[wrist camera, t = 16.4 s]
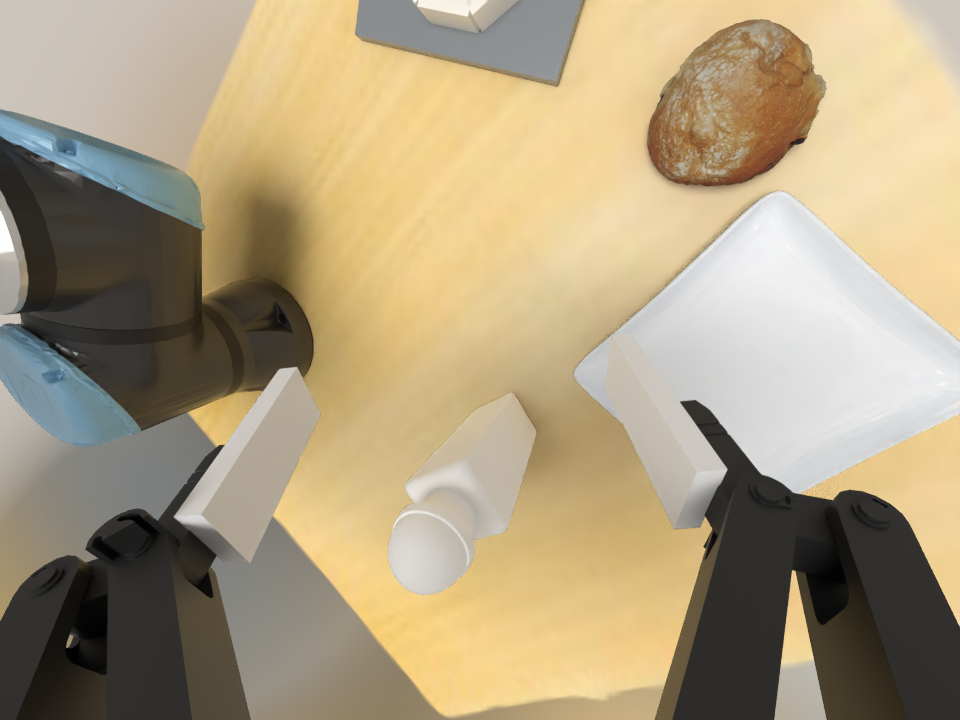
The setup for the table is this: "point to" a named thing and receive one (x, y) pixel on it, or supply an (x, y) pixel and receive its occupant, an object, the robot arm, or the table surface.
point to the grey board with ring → (478, 32)
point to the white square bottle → (461, 496)
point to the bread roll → (735, 106)
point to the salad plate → (793, 347)
